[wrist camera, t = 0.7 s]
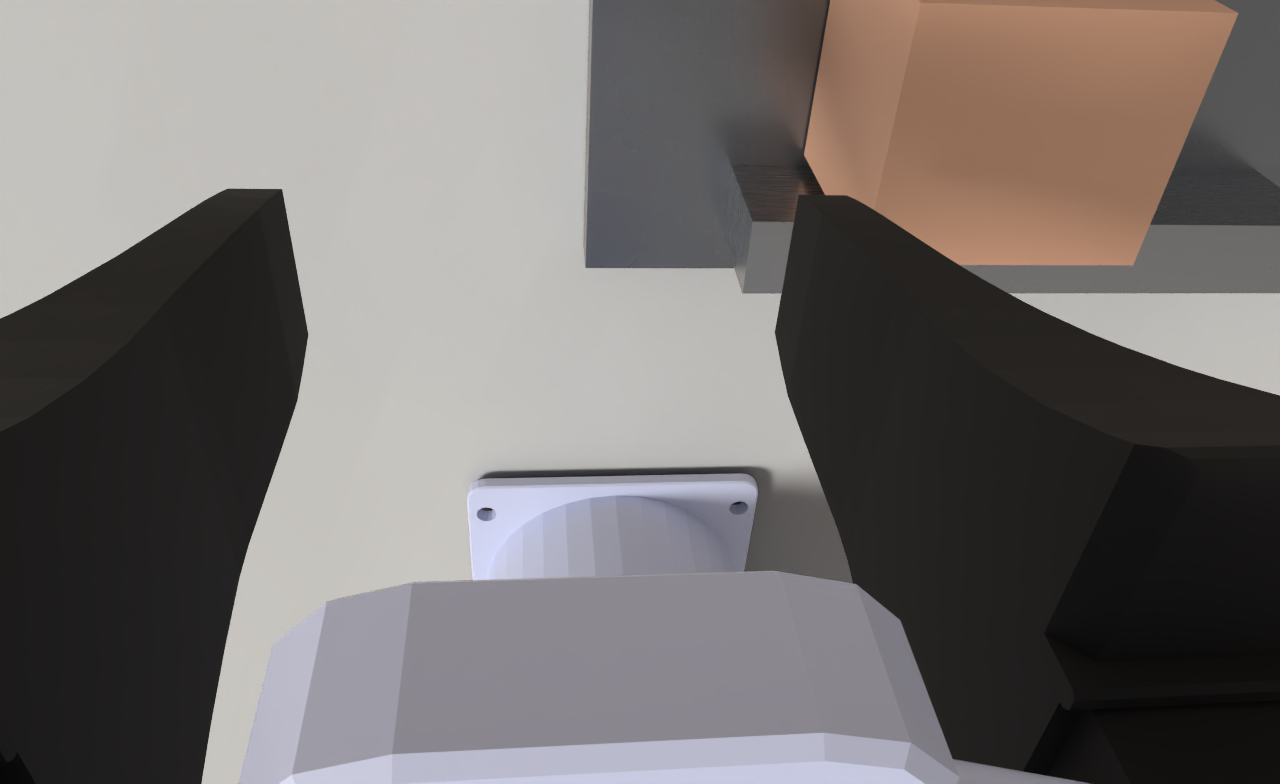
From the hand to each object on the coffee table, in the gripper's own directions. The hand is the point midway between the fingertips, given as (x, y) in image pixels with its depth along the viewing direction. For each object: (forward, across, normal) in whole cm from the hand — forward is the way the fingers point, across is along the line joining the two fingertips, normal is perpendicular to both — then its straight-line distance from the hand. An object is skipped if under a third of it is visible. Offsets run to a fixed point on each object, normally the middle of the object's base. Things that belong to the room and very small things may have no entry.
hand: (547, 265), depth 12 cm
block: (+8, -8, 0) cm, 12 cm away
